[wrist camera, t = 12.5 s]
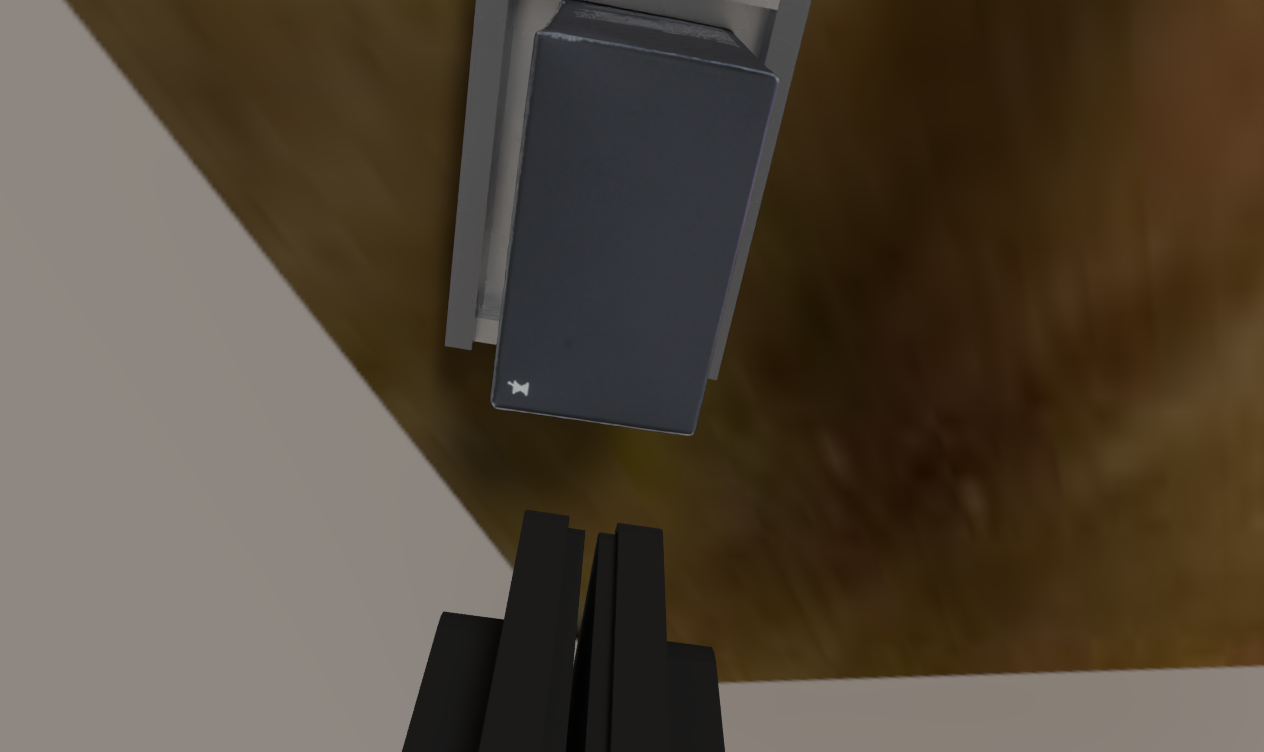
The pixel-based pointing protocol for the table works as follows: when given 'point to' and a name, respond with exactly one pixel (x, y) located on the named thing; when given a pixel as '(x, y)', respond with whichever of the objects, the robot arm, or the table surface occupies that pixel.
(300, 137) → the table surface
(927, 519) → the table surface
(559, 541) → the robot arm
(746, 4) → the rail seat
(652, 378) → the small box
